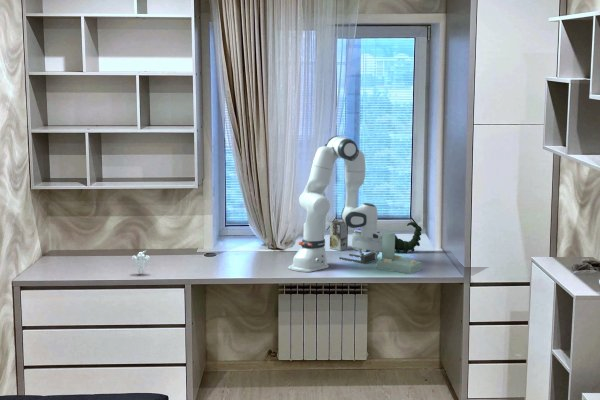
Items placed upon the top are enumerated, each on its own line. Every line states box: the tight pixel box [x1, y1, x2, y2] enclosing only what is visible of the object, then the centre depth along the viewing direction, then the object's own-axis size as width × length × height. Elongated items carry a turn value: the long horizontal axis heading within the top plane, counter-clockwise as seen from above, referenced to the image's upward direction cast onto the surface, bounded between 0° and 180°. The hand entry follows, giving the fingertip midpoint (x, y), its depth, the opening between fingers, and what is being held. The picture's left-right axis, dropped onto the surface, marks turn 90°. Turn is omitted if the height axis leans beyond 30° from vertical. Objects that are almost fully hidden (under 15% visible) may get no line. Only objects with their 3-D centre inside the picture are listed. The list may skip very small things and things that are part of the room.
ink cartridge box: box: [351, 227, 371, 252], centre depth 444 cm, size 10×6×14 cm, turn 53°
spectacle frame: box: [338, 251, 377, 265], centre depth 423 cm, size 12×16×4 cm
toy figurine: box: [395, 221, 423, 254], centre depth 439 cm, size 9×19×25 cm
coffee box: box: [329, 219, 349, 252], centre depth 446 cm, size 9×6×16 cm
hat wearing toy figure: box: [131, 249, 150, 275], centre depth 390 cm, size 9×4×12 cm, turn 92°
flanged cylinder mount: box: [376, 231, 423, 275], centre depth 402 cm, size 12×20×18 cm, turn 54°
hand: (368, 257), depth 419 cm, fingers open, 7 cm apart
